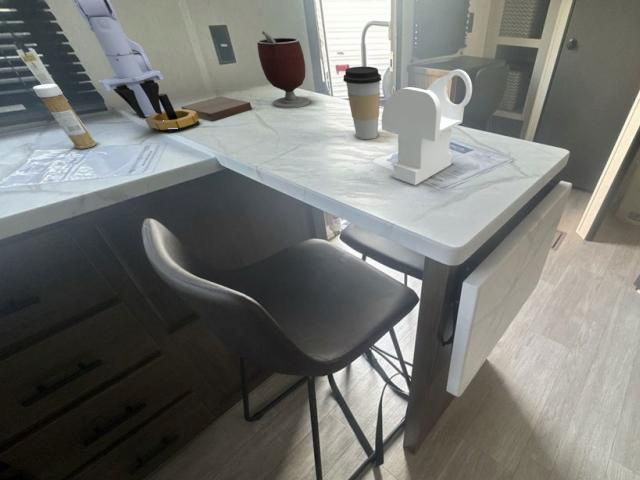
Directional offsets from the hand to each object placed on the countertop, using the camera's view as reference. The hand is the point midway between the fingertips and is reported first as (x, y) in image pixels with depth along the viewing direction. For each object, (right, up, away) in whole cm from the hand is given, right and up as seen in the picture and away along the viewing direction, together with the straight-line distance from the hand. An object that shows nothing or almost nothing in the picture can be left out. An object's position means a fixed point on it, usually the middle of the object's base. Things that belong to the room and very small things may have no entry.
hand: (151, 115), depth 87 cm
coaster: (+9, +11, +16) cm, 22 cm away
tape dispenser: (+75, -23, -17) cm, 81 cm away
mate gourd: (+31, +17, +23) cm, 42 cm away
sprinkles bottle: (-13, -11, -5) cm, 18 cm away
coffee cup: (+60, -6, 0) cm, 61 cm away
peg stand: (+3, +1, +6) cm, 7 cm away
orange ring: (+3, +1, +5) cm, 6 cm away
